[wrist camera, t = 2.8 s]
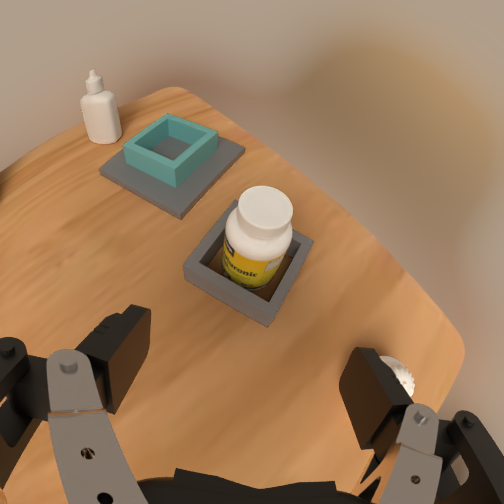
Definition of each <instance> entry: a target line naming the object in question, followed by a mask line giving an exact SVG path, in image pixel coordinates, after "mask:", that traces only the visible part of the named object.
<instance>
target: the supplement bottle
mask: <svg viewBox="0 0 504 504" xmlns="http://www.w3.org/2000/svg"><path fill="white" fill-rule="evenodd" d="M292 215H293V207H292V204H291V201H290V200H289V198H288V197H287V196H286V195H285V194H284V193H283V192H281V191H280V190H278V189H276V188H273V187H270V186H254V187H251V188H249V189H247V190H246V191H244V192H243V193H242V195H241V196H240V198H239V201H238V206H237V207H236V208H235V209H234V210H233V211H232V212H231V213H230V215H229V217H228V219H227V222H226V227H225V235H224V245H223V253H222V270H223V273H224V275H225V277H226V278H227V279H228V280H230V281H232V282H234V283H235V284H237V285H239V286H241V287H242V288H244V289H246V290H248V291H253V290H258V289H261V288H263V287H265V286H266V285H267V284H268V283H269V282H270V281H271V280H272V278H273V277H274V275H275V273H276V271H277V269H278V267H279V265H280V263H281V261H282V259H283V257H284V255H285V253H286V251H287V249H288V247H289V245H290V242H291V239H292V225H291V222H290V220H291V218H292Z"/></svg>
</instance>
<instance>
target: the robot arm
mask: <svg viewBox="0 0 504 504" xmlns="http://www.w3.org/2000/svg"><path fill="white" fill-rule="evenodd" d="M150 325H151V310H150V309H148V308H144V307H141V306H137V305H133V304H131V305H130V306H129V307H128V308H127V309H126V310H125V311H124V312H123V313H122V314H119V313H115V314H112V315H110V316H108V317H106V318H105V319H104V320H103V321H102V322H101V323H100V324H99V326H97V327H96V328H95V329H94V330H93V331H92V332H91V333H90V334H89V335H88V336H87V337H86V338H85V339H84V340H83V341H82V342H81V343H80V344H79V345H78V346H77V347H76V348H75V349H74V350H71V349H64V350H59V351H56V352H54V353H53V354H51V355H50V356H49V358H48V359H46V358H41V357H36V356H31V355H28V354H27V350H26V346H25V344H24V343H23V342H22V341H21V340H19V339H17V338H14V337H4V338H0V402H1V401H2V400H3V399H4V397H5V396H6V397H7V399H6V401H5V402H4V403H3V404H2V406H1V407H0V504H7V499H6V496H5V494H4V492H3V488H4V486H5V484H6V482H7V480H8V478H9V476H10V474H11V473H12V471H13V469H14V467H15V465H16V463H17V462H18V460H19V458H20V456H21V454H22V453H23V451H24V449H25V448H26V446H27V444H28V443H29V441H30V439H31V438H32V436H33V434H34V433H35V431H36V429H37V428H38V426H39V425H40V423H41V421H42V420H44V421H48V422H49V428H50V434H51V439H52V444H53V449H54V454H55V458H56V462H57V466H58V470H59V474H60V477H61V481H62V484H63V488H64V491H65V494H66V497H67V500H68V503H69V504H504V456H503V454H502V453H501V451H500V450H499V448H498V447H497V445H496V443H495V442H494V440H493V439H492V437H491V436H490V435H489V433H488V431H487V430H486V429H485V427H484V426H483V424H482V423H481V421H480V420H479V419H478V417H477V416H475V415H474V414H473V413H471V412H468V411H463V410H462V411H458V412H457V413H456V414H455V416H454V417H453V418H452V420H451V421H447V420H439V419H438V416H437V414H436V413H435V412H434V411H433V410H432V409H431V408H429V407H428V406H426V405H423V404H418V403H415V404H414V402H413V401H412V399H411V398H410V396H409V394H408V393H407V391H406V390H405V388H404V387H403V385H402V384H400V383H401V382H400V381H399V379H398V378H397V377H396V375H395V373H394V372H393V370H392V369H391V367H389V366H388V365H387V364H386V363H385V362H383V361H382V360H381V358H380V357H379V355H378V354H377V352H376V351H375V350H374V349H373V348H362V347H356V348H355V349H354V350H353V351H352V354H351V356H350V358H349V360H348V363H347V365H346V367H345V369H344V371H343V373H342V376H341V378H340V382H339V391H340V394H341V396H342V399H343V402H344V404H345V407H346V410H347V412H348V415H349V418H350V420H351V423H352V426H353V429H354V431H355V434H356V437H357V440H358V443H359V445H360V448H361V450H364V449H374V453H373V454H372V455H371V457H370V458H369V460H368V462H367V464H366V466H365V468H364V470H363V472H362V474H361V476H360V478H359V480H358V482H357V483H356V485H355V487H354V489H353V490H352V492H351V493H346V492H342V491H337V489H336V485H335V481H326V482H298V483H294V484H289V485H283V486H278V487H272V488H265V489H256V488H252V487H249V486H245V485H242V484H239V483H236V482H233V481H230V480H227V479H224V478H221V477H218V476H213V475H207V474H202V473H197V472H192V471H187V470H182V469H178V468H176V470H175V474H174V477H156V478H149V479H144V480H139V481H136V480H135V478H134V476H133V474H132V472H131V470H130V468H129V466H128V464H127V461H126V459H125V457H124V455H123V452H122V450H121V448H120V445H119V443H118V441H117V438H116V436H115V433H114V431H113V428H112V425H111V423H110V420H109V417H108V414H107V412H109V413H112V414H114V415H115V413H116V412H117V410H118V408H119V406H120V404H121V402H122V400H123V399H124V397H125V395H126V393H127V391H128V389H129V388H130V386H131V384H132V382H133V380H134V379H135V377H136V375H137V373H138V371H139V370H140V368H141V366H142V364H143V362H144V361H145V359H146V357H147V354H148V350H149V345H150ZM459 455H461V456H462V458H463V460H464V462H465V464H466V466H467V468H468V470H469V477H468V479H467V481H466V482H465V483H464V484H463V485H462V486H460V484H459V482H458V480H457V477H456V475H455V473H454V471H453V469H452V467H451V464H452V463H453V462H454V461H455V460H456V459H457V458H458V457H459Z"/></svg>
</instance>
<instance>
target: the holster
mask: <svg viewBox="0 0 504 504" xmlns="http://www.w3.org/2000/svg"><path fill="white" fill-rule="evenodd" d="M237 206H238V201H237V200H234V202H233V203H232V204H231V205H230V206H229V208H228V209H227V210H226V211H225V212H224V214H223V215H222V216H221V217H220V219H219V220H218V221H217V222H216V224H215V225H214V226H213V227H212V229H211V230H210V231H209V232H208V234H207V235H206V236H205V237H204V239H203V240H202V241H201V242H200V244H199V245H198V246H197V247H196V249H195V250H194V251H193V253H192V254H191V255H190V256H189V258H188V259H187V260H186V262H185V263H184V264H183V270H184V276H185V280H187V281H188V282H190V283H192V284H193V285H195V286H196V287H198V288H200V289H201V290H203V291H205V292H206V293H208V294H210V295H211V296H213V297H215V298H216V299H218V300H220V301H222V302H223V303H225V304H227V305H228V306H230V307H232V308H234V309H235V310H237V311H239V312H241V313H242V314H244V315H246V316H248V317H249V318H251V319H253V320H255V321H256V322H258V323H260V324H262V325H264V326H265V327H268V326H269V325H270V323H271V322H272V321H273V319H274V318H275V316H276V314H277V312H278V310H279V309H280V307H281V305H282V303H283V301H284V299H285V297H286V295H287V293H288V292H289V290H290V288H291V286H292V284H293V282H294V280H295V278H296V276H297V274H298V272H299V270H300V268H301V266H302V264H303V263H304V261H305V259H306V257H307V255H308V253H309V251H310V249H311V247H312V245H313V242H314V241H313V240H311V239H309V238H308V237H306V236H304V235H302V234H300V233H298V232H296V231H295V230H293V229H292V239H291V242H290V245H289V247H288V249H287V251H286V253H285V254H286V255H288V256H290V257H291V258H293V260H292V262H291V264H290V265H289V267H288V269H287V271H286V273H285V275H284V276H283V278H282V280H281V282H280V284H279V286H278V287H277V289H276V291H275V293H274V295H273V296H272V298H271V300H270V302H267V301H265V300H264V299H262V298H260V297H258V296H256V295H255V294H253V293H251V292H249V291H248V290H246V289H244V288H242V287H241V286H239V285H237V284H235V283H234V282H232V281H230V280H228V279H227V278H225V277H223V276H221V275H220V274H218V273H216V272H214V271H213V270H211V269H209V268H208V267H207V266H208V264H209V263H210V262H211V260H212V259H213V257H214V256H215V255H216V253H217V252H218V251H219V249H220V248H221V247H222V245H223V244H224V235H225V227H226V222H227V219H228V217H229V215H230V213H231V212H232V211H233V210H234V209H235V208H236V207H237Z"/></svg>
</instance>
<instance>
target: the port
mask: <svg viewBox="0 0 504 504" xmlns="http://www.w3.org/2000/svg"><path fill="white" fill-rule="evenodd" d="M122 146H123V149H122V150H121V151H120V152H118V153H117V154H116V155H115V156H114V157H112V158H111V159H110V160H109V161H107V162H106V163H105V164H104V165H103V166H102V167H100V168H99V172H100V175H102V176H104V177H106V178H107V179H109V180H111V181H113V182H114V183H116V184H118V185H120V186H121V187H123V188H125V189H127V190H129V191H130V192H132V193H134V194H136V195H137V196H139V197H141V198H143V199H144V200H146V201H148V202H150V203H152V204H153V205H155V206H157V207H159V208H160V209H162V210H164V211H166V212H168V213H169V214H171V215H173V216H175V217H177V218H178V219H180V220H182V218H183V217H184V216H185V215H186V214H187V213H188V212H189V211H190V209H191V208H192V207H193V206H194V205H195V204H196V203H197V202H198V201H199V200H200V198H201V197H202V196H203V195H204V194H205V193H206V192H207V191H208V190H209V189H210V188H211V187H212V186H213V185H214V183H215V182H216V181H217V180H218V179H219V178H220V177H221V176H222V175H223V174H224V173H225V172H226V171H227V170H228V169H229V168H230V167H231V166H232V165H233V164H234V163H235V162H236V161H237V160H238V159H239V158H240V157H241V156H242V155H243V154H244V151H245V147H243V146H240V145H238V144H236V143H233V142H231V141H229V140H226V139H224V138H221V137H219V136H218V132H217V131H214V130H212V129H209V128H207V127H204V126H201V125H199V124H196V123H193V122H191V121H188V120H185V119H182V118H179V117H177V116H174V115H171V114H168V113H167V114H166V115H164V116H163V117H161V118H160V119H158V120H157V121H155V122H154V123H152V124H151V125H149V126H148V127H147V128H145V129H144V130H142V131H141V132H140V133H138V134H137V135H136V136H134V137H133V138H132V139H130V140H129V141H128V142H126V143H125V144H124V145H122Z"/></svg>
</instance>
